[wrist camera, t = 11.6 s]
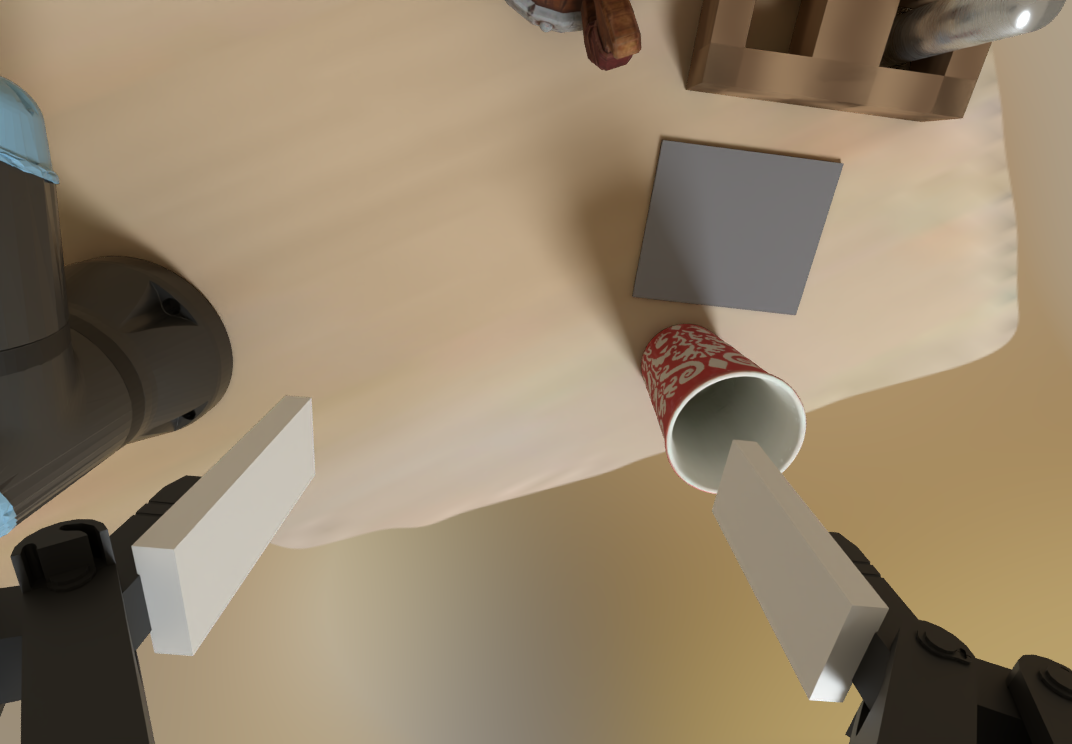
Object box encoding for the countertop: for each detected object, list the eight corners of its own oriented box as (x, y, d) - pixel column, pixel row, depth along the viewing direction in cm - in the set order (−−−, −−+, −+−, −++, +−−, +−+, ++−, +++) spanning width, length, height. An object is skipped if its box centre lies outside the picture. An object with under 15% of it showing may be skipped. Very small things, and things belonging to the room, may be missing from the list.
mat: (632, 295, 44) (633, 296, 44) (662, 140, 39) (663, 140, 39) (794, 314, 45) (795, 315, 44) (841, 163, 40) (843, 163, 40)
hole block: (685, 89, 38) (702, 82, 34) (715, -63, 35) (738, -89, 31) (921, 121, 39) (962, 118, 35) (973, -24, 36) (1024, -45, 32)
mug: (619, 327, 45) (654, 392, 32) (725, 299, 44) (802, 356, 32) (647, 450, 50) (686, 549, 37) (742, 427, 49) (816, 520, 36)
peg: (857, 65, 38) (995, 27, 27) (872, 16, 37) (1023, -45, 25) (896, 71, 38) (1050, 36, 27) (913, 22, 37) (1081, -35, 26)
